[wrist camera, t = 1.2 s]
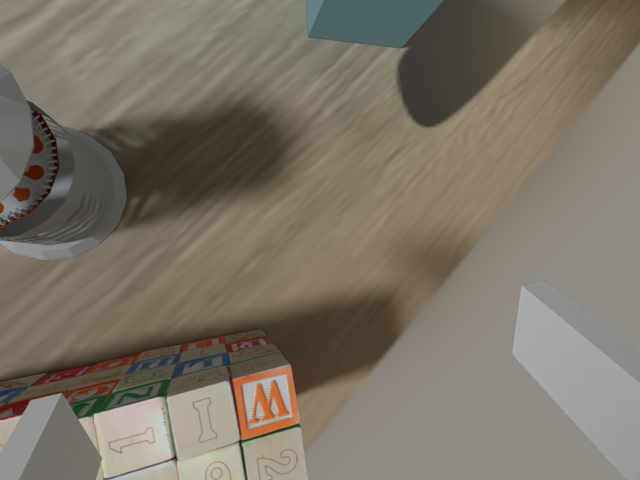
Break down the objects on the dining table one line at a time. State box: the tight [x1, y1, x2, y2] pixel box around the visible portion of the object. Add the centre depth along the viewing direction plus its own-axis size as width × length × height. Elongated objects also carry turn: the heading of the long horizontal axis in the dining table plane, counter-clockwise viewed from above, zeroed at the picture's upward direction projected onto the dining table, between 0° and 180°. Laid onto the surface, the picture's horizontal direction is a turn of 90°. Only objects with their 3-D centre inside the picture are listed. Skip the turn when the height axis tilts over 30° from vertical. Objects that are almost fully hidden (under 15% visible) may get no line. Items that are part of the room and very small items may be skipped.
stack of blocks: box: [0, 329, 309, 480], centre depth 23 cm, size 21×6×12 cm, turn 99°
